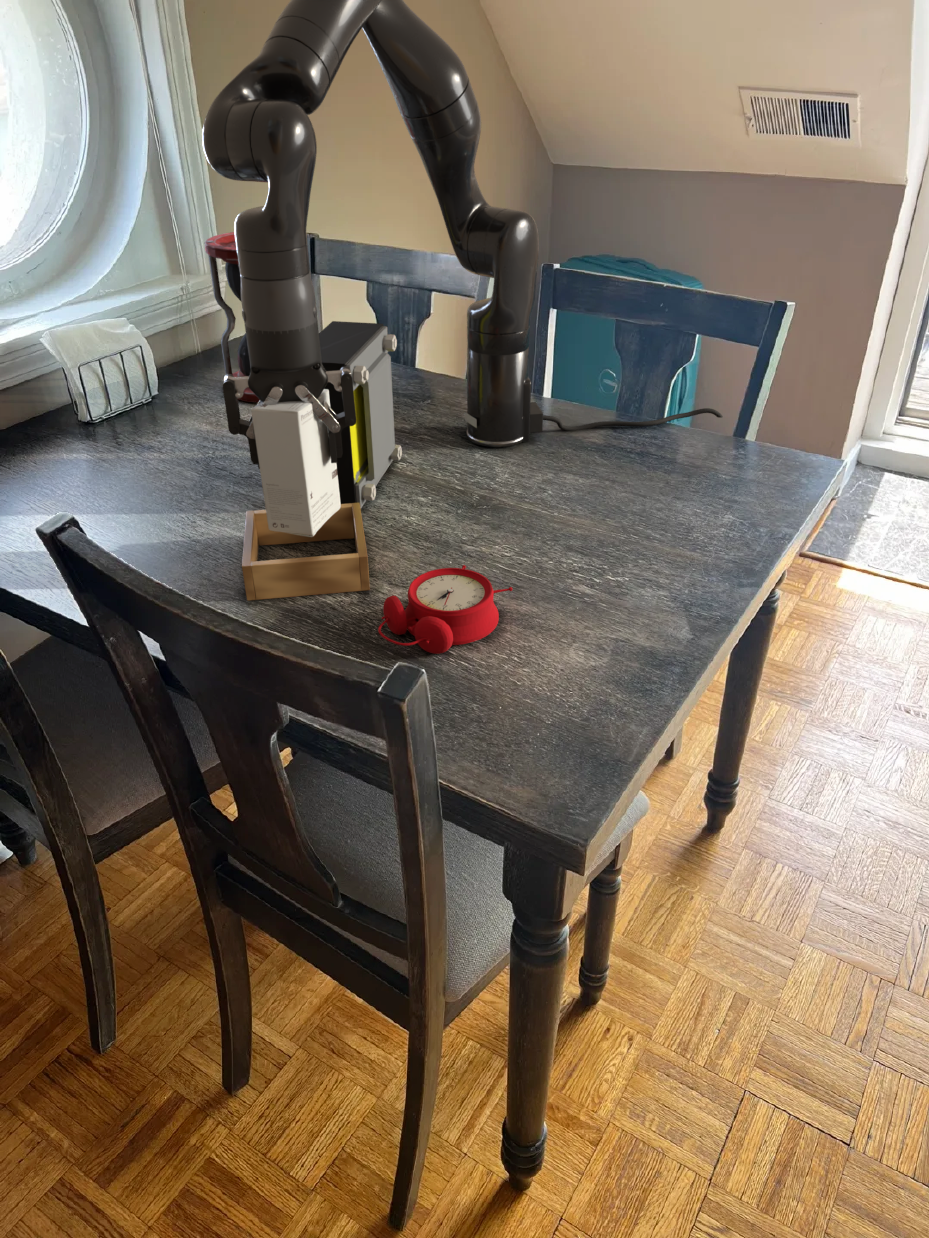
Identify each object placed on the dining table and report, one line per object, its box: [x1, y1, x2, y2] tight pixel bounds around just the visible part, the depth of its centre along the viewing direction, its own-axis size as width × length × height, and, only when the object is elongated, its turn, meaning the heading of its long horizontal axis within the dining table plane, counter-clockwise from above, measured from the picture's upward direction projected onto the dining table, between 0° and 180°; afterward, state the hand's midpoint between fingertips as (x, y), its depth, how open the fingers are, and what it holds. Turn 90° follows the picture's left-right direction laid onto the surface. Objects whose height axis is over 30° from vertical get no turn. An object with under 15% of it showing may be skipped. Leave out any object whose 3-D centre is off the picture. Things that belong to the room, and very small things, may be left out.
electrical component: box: [319, 320, 403, 509], centre depth 128 cm, size 18×10×20 cm, turn 168°
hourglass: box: [203, 231, 260, 404], centre depth 160 cm, size 16×16×25 cm
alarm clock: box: [377, 564, 513, 655], centre depth 101 cm, size 10×6×15 cm
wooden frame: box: [241, 503, 371, 602], centre depth 113 cm, size 14×14×4 cm
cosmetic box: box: [250, 389, 341, 537], centre depth 107 cm, size 8×6×15 cm
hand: (297, 463), depth 107 cm, fingers closed on cosmetic box, 7 cm apart
